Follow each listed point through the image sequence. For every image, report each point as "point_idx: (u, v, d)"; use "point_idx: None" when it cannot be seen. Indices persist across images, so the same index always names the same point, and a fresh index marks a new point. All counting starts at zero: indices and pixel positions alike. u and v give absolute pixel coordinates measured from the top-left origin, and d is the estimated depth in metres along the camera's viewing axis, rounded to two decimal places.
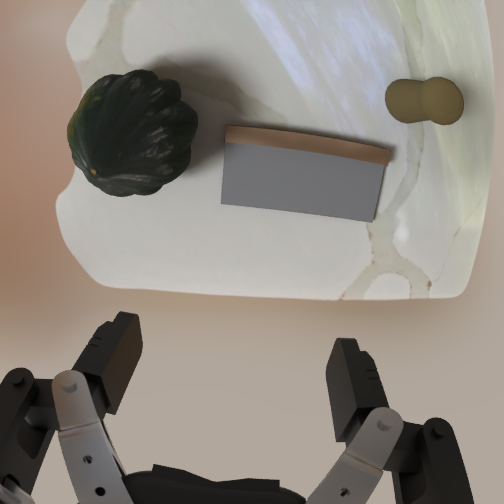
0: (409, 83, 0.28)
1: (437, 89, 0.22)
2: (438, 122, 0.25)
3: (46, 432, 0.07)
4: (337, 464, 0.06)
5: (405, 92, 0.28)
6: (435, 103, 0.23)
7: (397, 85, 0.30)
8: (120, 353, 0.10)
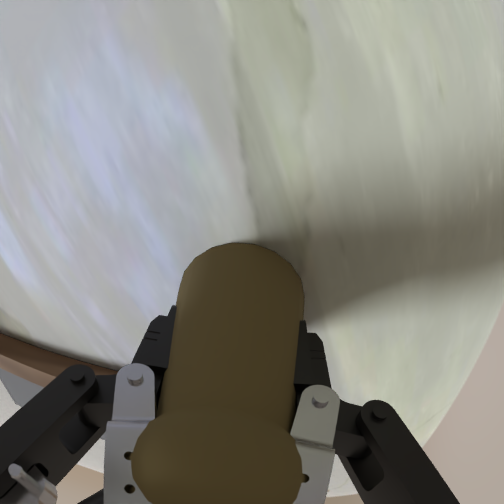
0: (183, 325, 0.10)
1: None
2: None
3: (95, 431, 0.08)
4: None
5: None
6: None
7: (182, 294, 0.12)
8: None
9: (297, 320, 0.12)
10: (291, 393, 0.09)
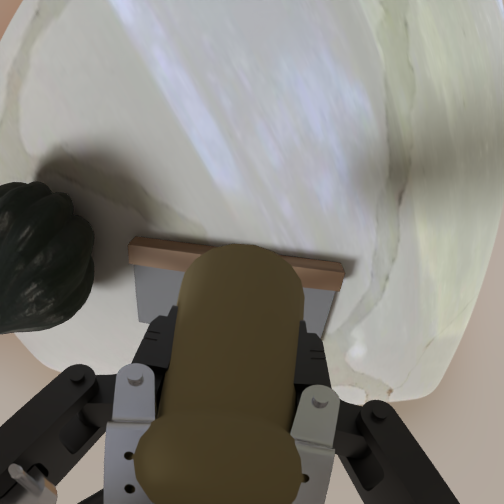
0: (184, 326, 0.10)
1: None
2: None
3: (95, 431, 0.08)
4: None
5: None
6: None
7: (183, 295, 0.12)
8: None
9: (297, 321, 0.12)
10: (291, 394, 0.09)
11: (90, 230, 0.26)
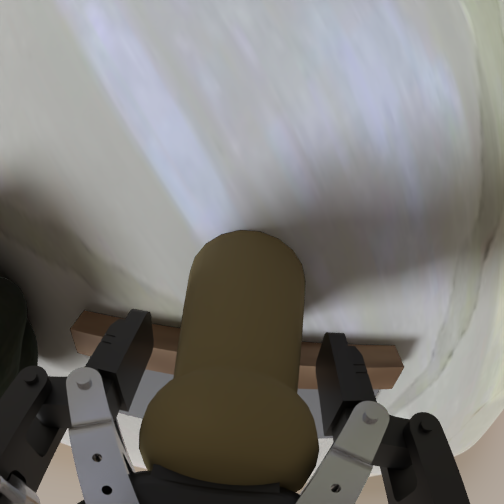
0: (197, 300, 0.11)
1: None
2: None
3: (57, 431, 0.07)
4: (326, 460, 0.06)
5: None
6: None
7: (194, 275, 0.14)
8: (133, 350, 0.10)
9: (299, 299, 0.13)
10: (295, 360, 0.10)
11: (17, 307, 0.15)
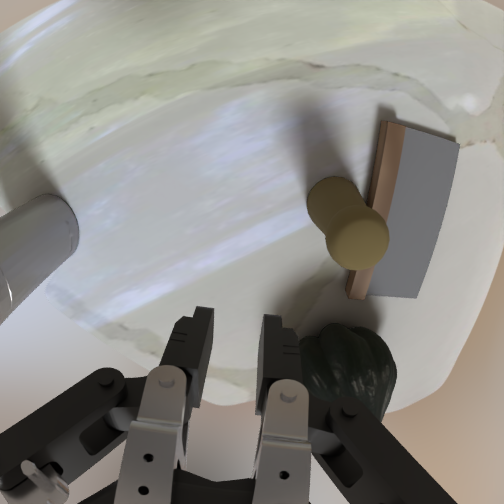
0: (323, 232, 0.29)
1: (349, 263, 0.23)
2: None
3: (118, 435, 0.08)
4: (262, 451, 0.06)
5: None
6: (366, 265, 0.23)
7: None
8: (205, 346, 0.11)
9: (331, 188, 0.28)
10: (341, 202, 0.25)
11: (332, 326, 0.35)
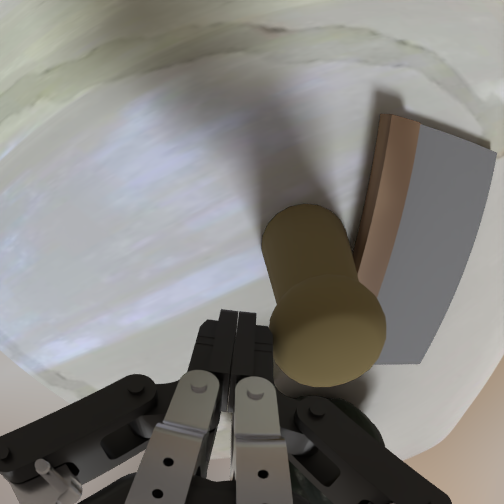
0: None
1: (307, 381, 0.12)
2: None
3: (142, 442, 0.08)
4: (237, 452, 0.06)
5: None
6: (339, 383, 0.12)
7: None
8: None
9: (295, 227, 0.18)
10: (304, 261, 0.15)
11: None
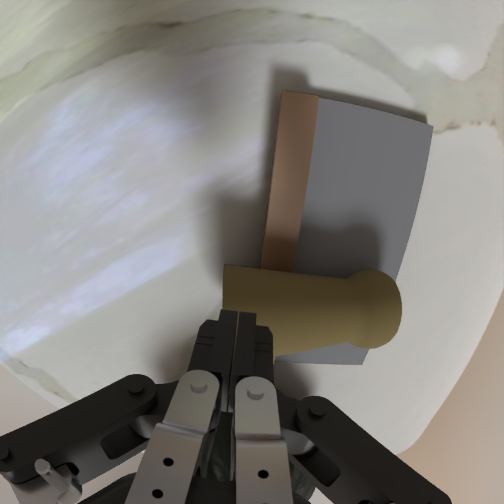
0: None
1: None
2: (376, 270, 0.19)
3: (142, 442, 0.08)
4: (237, 452, 0.06)
5: None
6: None
7: None
8: None
9: (276, 347, 0.17)
10: (334, 338, 0.17)
11: (228, 399, 0.24)
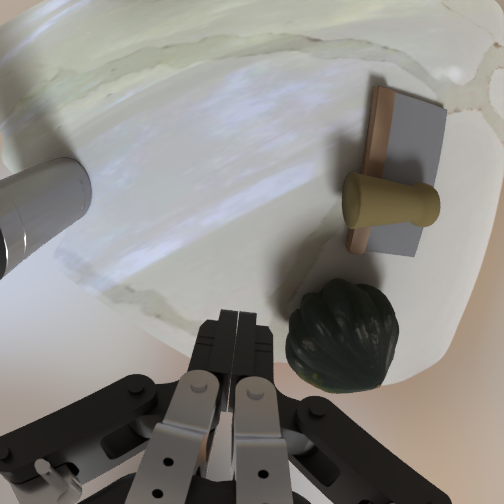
0: None
1: None
2: None
3: (142, 442, 0.08)
4: (237, 452, 0.06)
5: None
6: None
7: None
8: None
9: (384, 213, 0.29)
10: (409, 212, 0.30)
11: (333, 280, 0.37)
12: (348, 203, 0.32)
